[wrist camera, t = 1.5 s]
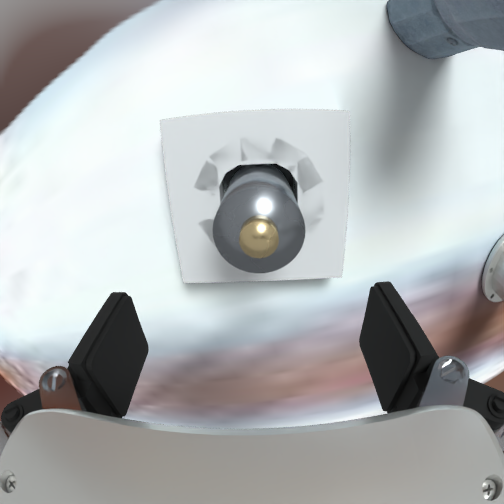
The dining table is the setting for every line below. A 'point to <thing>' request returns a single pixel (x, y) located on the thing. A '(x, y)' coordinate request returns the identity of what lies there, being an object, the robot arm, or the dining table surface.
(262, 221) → the end cover
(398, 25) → the moka pot
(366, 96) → the dining table surface
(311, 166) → the housing
